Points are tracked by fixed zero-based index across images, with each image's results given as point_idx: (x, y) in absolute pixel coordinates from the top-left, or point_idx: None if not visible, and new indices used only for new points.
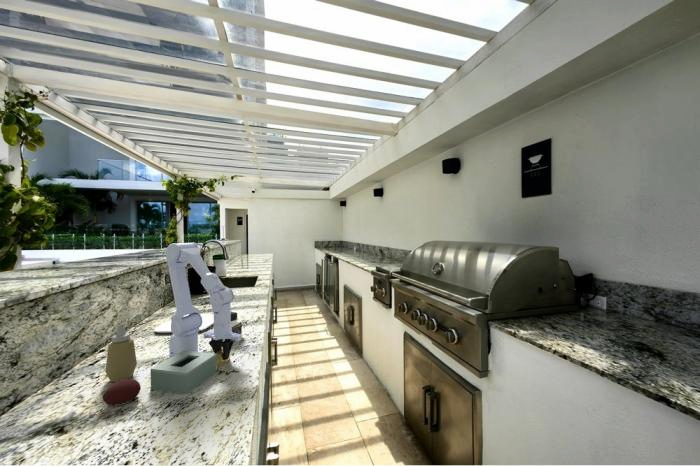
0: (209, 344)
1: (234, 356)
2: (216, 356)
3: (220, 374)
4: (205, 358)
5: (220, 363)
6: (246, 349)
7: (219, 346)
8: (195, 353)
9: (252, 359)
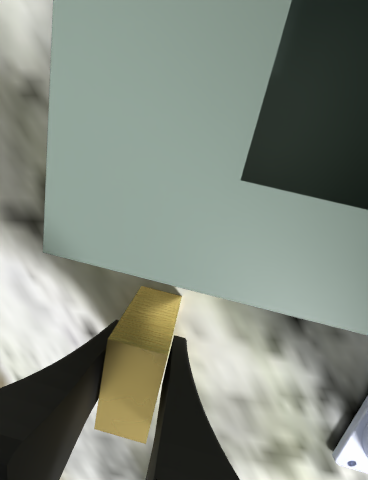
0: (235, 473)
1: None
2: (159, 332)
3: None
4: (104, 92)
5: (139, 294)
6: (95, 443)
7: (154, 444)
8: (351, 274)
9: (6, 341)
